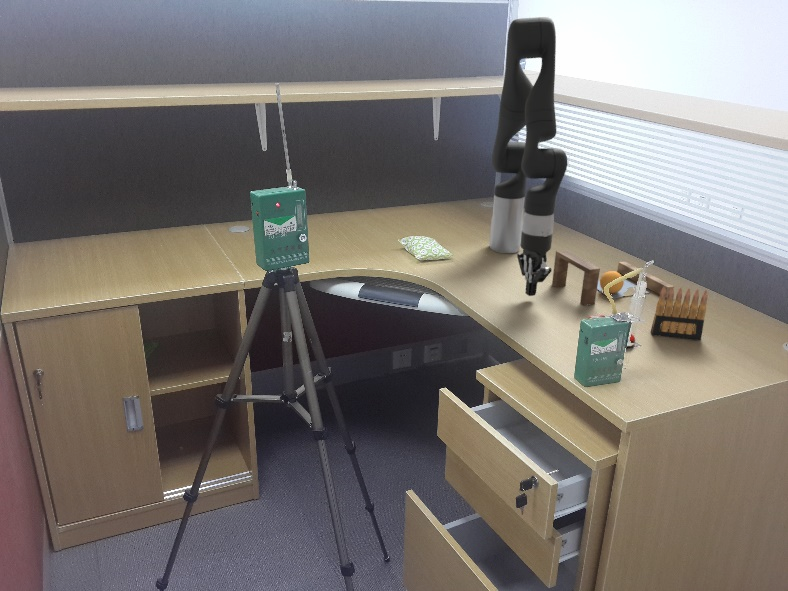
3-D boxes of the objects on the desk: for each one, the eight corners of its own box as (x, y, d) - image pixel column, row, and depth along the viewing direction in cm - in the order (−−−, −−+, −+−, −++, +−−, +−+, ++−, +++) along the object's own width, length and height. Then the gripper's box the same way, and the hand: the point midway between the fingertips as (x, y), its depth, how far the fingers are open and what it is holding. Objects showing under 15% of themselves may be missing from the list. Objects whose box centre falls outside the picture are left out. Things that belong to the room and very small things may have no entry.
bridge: (584, 305, 168) (589, 269, 164) (551, 284, 181) (555, 250, 177) (594, 304, 169) (600, 268, 165) (561, 283, 182) (565, 249, 178)
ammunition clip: (651, 335, 152) (660, 287, 148) (650, 332, 154) (659, 284, 149) (700, 340, 150) (711, 292, 146) (699, 337, 152) (709, 289, 147)
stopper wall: (617, 272, 190) (618, 262, 189) (622, 271, 191) (624, 261, 190) (666, 297, 173) (668, 287, 172) (672, 296, 174) (674, 286, 173)
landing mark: (584, 282, 182) (584, 281, 182) (620, 277, 186) (620, 276, 186) (612, 298, 172) (612, 298, 172) (649, 293, 176) (649, 292, 176)
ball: (605, 263, 175) (621, 272, 178) (591, 281, 177) (606, 290, 179) (616, 273, 170) (632, 283, 172) (602, 292, 172) (617, 301, 174)
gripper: (510, 223, 167) (504, 287, 174) (538, 239, 156) (531, 306, 163) (536, 221, 170) (529, 284, 177) (565, 236, 159) (557, 302, 165)
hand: (530, 294), depth 170 cm, fingers closed
